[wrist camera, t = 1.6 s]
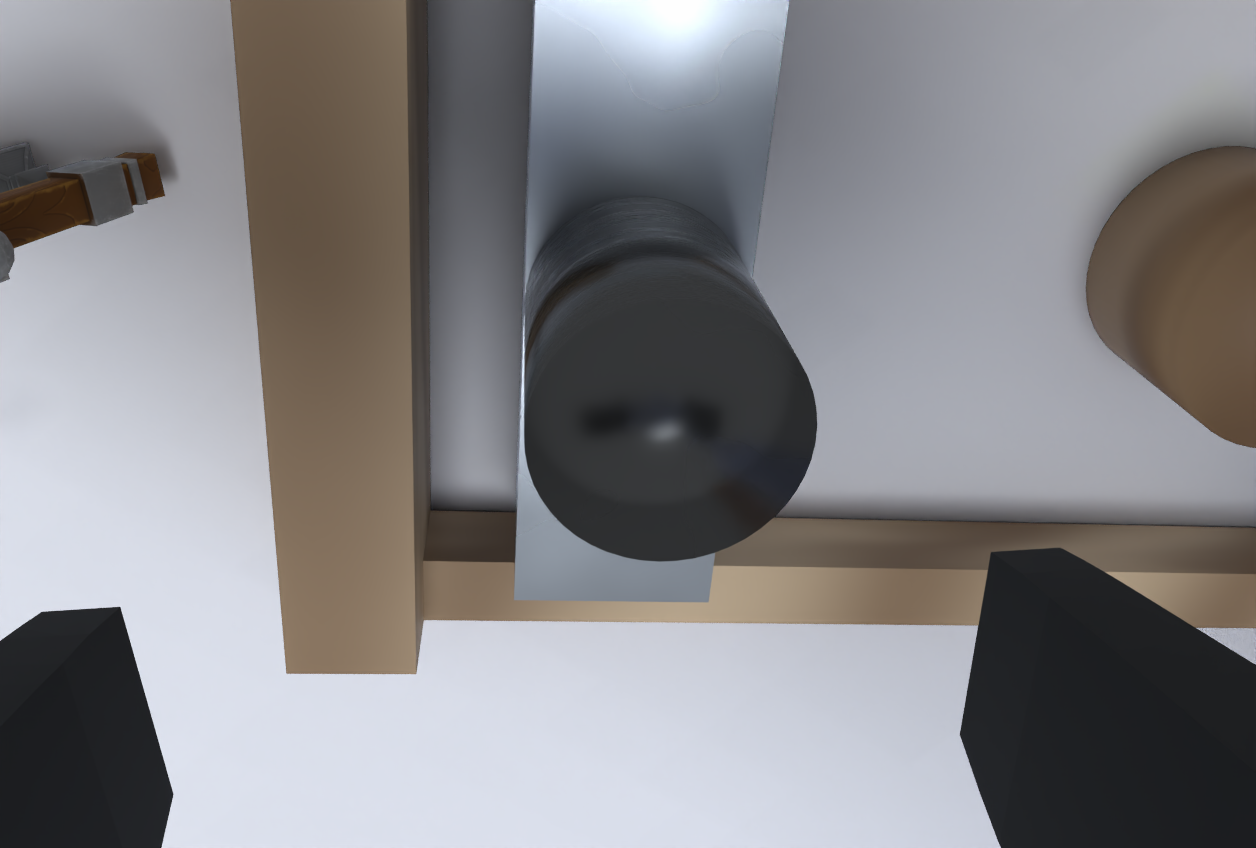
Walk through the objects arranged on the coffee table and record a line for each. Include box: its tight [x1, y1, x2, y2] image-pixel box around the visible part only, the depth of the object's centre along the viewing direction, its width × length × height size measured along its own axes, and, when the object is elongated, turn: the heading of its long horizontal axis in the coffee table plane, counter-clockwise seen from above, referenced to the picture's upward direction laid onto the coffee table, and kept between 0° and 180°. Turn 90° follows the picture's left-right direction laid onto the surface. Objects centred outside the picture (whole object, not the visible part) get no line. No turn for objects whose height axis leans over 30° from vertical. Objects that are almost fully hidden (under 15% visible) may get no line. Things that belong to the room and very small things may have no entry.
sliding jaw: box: [514, 0, 817, 602], centre depth 14 cm, size 3×10×7 cm, turn 176°
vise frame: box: [230, 0, 1256, 674], centre depth 16 cm, size 21×13×3 cm, turn 86°
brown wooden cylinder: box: [1086, 146, 1256, 448], centre depth 17 cm, size 4×4×3 cm
